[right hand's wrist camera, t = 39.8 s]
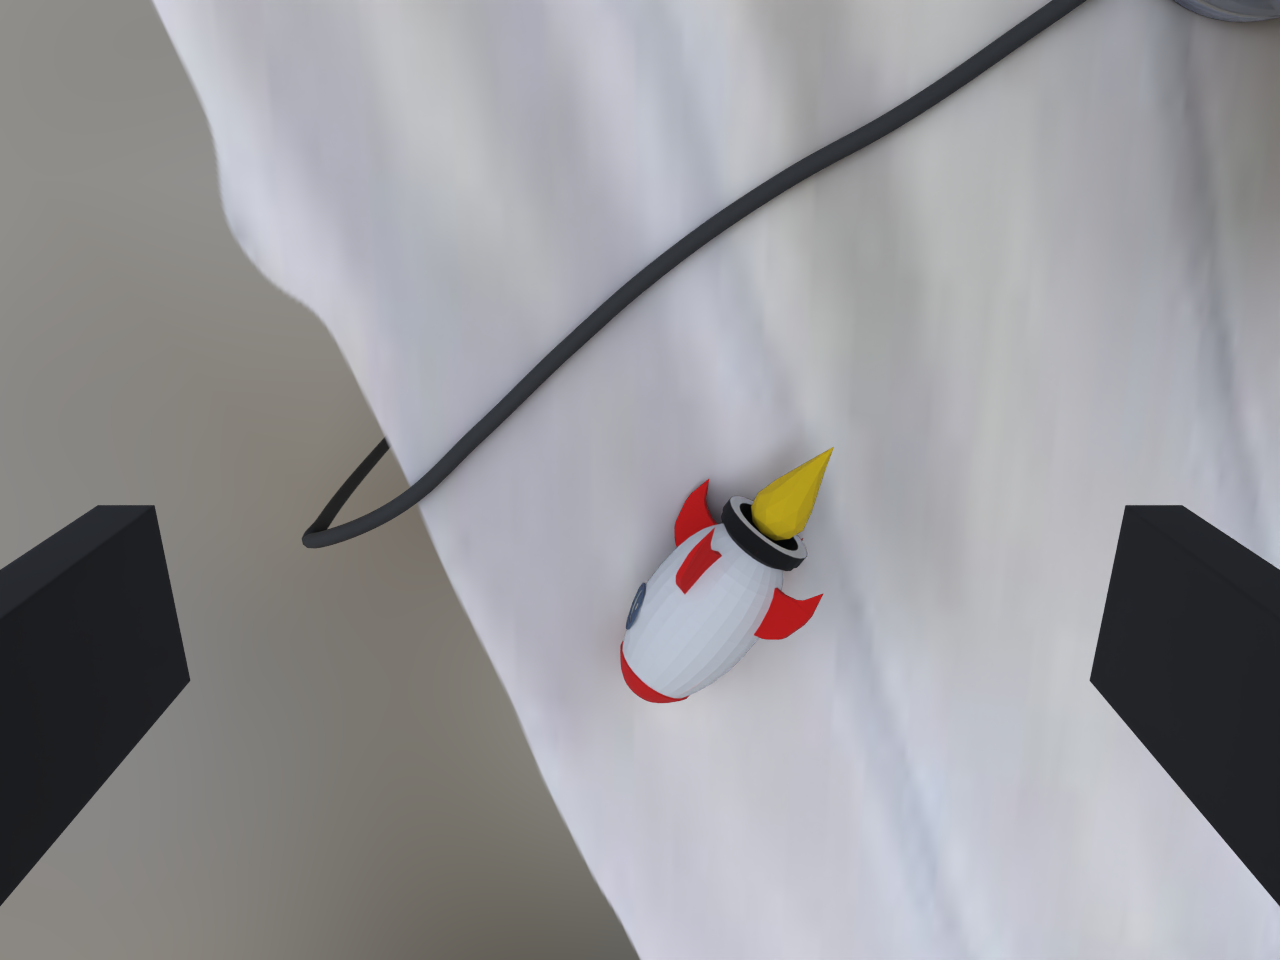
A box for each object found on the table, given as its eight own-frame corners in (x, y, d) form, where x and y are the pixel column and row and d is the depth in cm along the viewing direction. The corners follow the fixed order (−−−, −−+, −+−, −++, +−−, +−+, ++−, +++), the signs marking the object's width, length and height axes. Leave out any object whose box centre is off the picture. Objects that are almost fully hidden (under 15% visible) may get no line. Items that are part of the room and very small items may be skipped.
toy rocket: (754, 409, 46) (552, 681, 52) (905, 520, 45) (682, 780, 52) (772, 385, 54) (596, 620, 61) (898, 477, 54) (707, 704, 61)
